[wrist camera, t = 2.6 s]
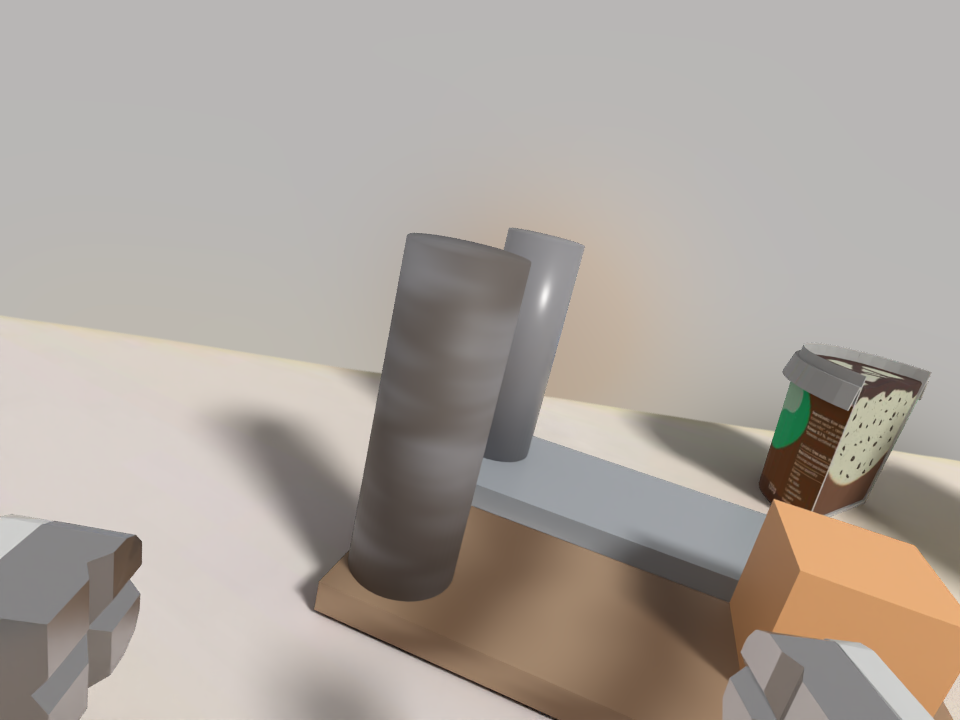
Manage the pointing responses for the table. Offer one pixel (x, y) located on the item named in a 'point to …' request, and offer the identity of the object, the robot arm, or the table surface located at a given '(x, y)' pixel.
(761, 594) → the terracotta block
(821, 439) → the food container
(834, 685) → the robot arm
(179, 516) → the table surface
